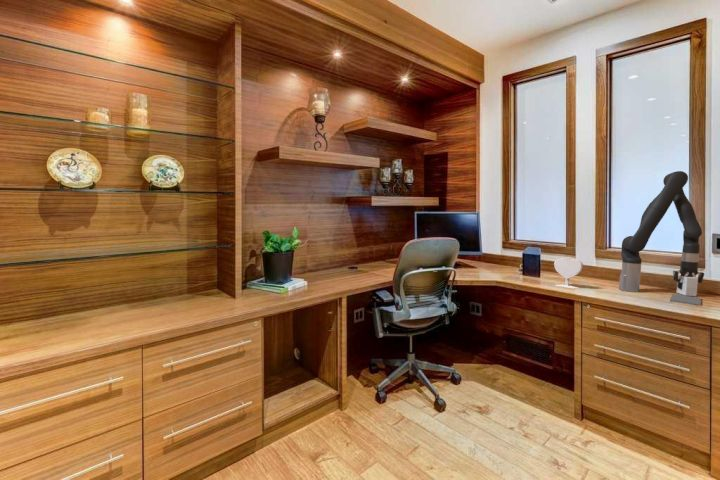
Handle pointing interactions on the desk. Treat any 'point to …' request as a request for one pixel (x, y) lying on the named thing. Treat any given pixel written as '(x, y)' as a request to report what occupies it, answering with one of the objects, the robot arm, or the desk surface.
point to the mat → (686, 299)
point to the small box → (688, 286)
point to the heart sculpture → (568, 269)
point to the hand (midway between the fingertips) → (686, 289)
